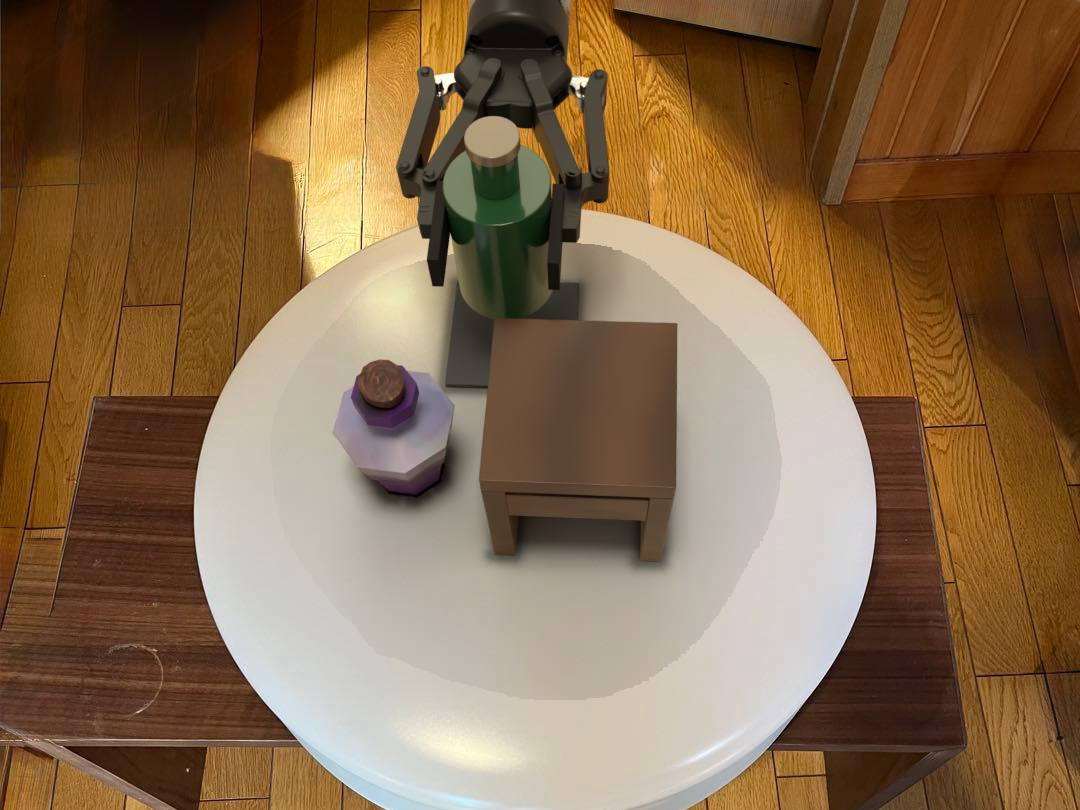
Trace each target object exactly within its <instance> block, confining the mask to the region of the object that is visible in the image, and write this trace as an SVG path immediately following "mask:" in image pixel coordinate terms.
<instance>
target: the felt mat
mask: <svg viewBox="0 0 1080 810" xmlns="http://www.w3.org/2000/svg"><path fill="white" fill-rule="evenodd" d="M579 290H580V283H579V282H560V290H553V291H552V293H551V295H550V297H549V299H548V300H547V301H546V303H545V304H544V305H543V306H542V307H541V308H540V309H538V310H537V311H535V312H534V313H532V314H530V315H528V316H525V317H523V318H519V319H548V320H578V307H579ZM453 303H454V304H453V313H452V321H451V329H450V339H449V346H448V355H447V363H446V372H445V380H444V381H445V382H444V385H445V387H447V388H473V389H474V388H476V389H477V388H478V389H488V379H489V369H490V359H491V348H492V338H493V328H494V319H491V318H488V317H485V316H483V315H481V314H479V313H477V312H476V311H474V310H473V309H472V308H471V307H470V306H469V305H468V304H467V303H466V301H465V300H464V298H463V296H462V294H461V290H460V285H459V279H457V280H456V287H455V294H454V302H453Z"/></svg>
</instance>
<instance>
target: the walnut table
mask: <svg viewBox="0 0 1080 810" xmlns="http://www.w3.org/2000/svg"><path fill="white" fill-rule="evenodd" d="M485 401H486V402H485V411H484V421H483V432H482V433H483V434H482V443H481V452H480V453H481V454H480V465H479V474H478V476H479V477H478V484H479V488H480V493H481V497H482V501H483V507H484V512H485V516H486V521H487V525H488V529H489V534H490V539H491V543H492V548H493V552H494V555H496V556H497V555H498V556H516V553H517V538H518V526H519V525H518V524H519V517H521V516H522V517H542V518H543V517H544V518H566V519H567V518H570V519H593V520H595V519H596V520H617V521H618V520H619V521H620V520H622V521H640V546H639V547H640V551H639V552H640V553H639V559H640V561H641V562H642V561H644V562H661V561H662V558H663V554H664V549H665V544H666V538H667V534H668V529H669V524H670V518H671V515H672V509H673V504H674V501H675V495H676V490H677V437H678V436H677V435H678V433H677V430H678V429H677V427H678V424H677V423H678V418H677V417H678V323H677V322H655V321H653V322H650V321H620V320H619V321H618V320H615V321H614V320H613V321H612V320H583V319H582V320H581V319H580V320H579V319H577V320H548V319H512V318H495V319H494V328H493V338H492V348H491V359H490V369H489V379H488V388H487V391H486V399H485Z"/></svg>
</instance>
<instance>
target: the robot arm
mask: <svg viewBox="0 0 1080 810" xmlns="http://www.w3.org/2000/svg"><path fill="white" fill-rule="evenodd" d="M1076 1H1077V2H1079V3H1080V0H1076ZM571 7H572V0H469V7H468V10H469V11H468V17H467V24H466V32H465V40H464V41H465V42H464V48H463V56H462V59H461V60H460V62H459V63H458V64H457V65H456V66H455V68H454V71H453V72H447V73H439V74H435V72H434V70H433V68H432V67H431V66H427V65H423V66H421V67H419V68H418V69H416V78H417V84H418V90H419V91H418V94H417V98H416V100H415V103H414V107H413V109H412V113H411V117H410V120H409V122H408V127H407V130H406V133H405V136H404V139H403V141H402V146H401V149H400V151H399V155H398V158H397V161H396V166H395V170H396V173H397V178H398V183H399V186H400V190H401V194H402V197H404V198H405V199H415V198H419V201H418V208H417V216H416V219H417V225H418V230H419V234H420V236H421V239H422V240H428V247H427V254H426V262H427V268H428V273H429V278H430V282H431V287H433V288H434V287H436V288H437V287H439V288H444V287H445V279H446V269H447V262H448V254H449V246H450V240H451V234H450V229H449V223H448V217H447V212H446V206H445V201H444V195H443V178H444V175H445V172H446V170H447V168H448V166H449V165H450V164H451V162H452V161H453V160H454V159H455V158H456V157H457V156H458V155H460V154H461V153H462V152H464V151H465V144H464V135H465V132H466V130H467V128H468V127H469V126H470V125H471V124H472V123H473V122H474V121H476V120H478V119H480V118H483V117H487V116H499V117H504V118H506V119H508V120H510V121H512V122H513V123H514V124H515V125H516V126H517V128H518V129H526V130H527V129H529V130H531V131H532V133H533V135H534V138H535V140H536V143H539V145H540V148H541V150H542V153H543V156H544V158H545V160H546V164H547V166H548V169H549V171H550V174H551V175H552V177H553V180H554V182H555V183H552V188H551V193H552V203H551V217H550V230H549V244H548V258H547V271H548V290H560V283H561V278H562V277H561V274H562V262H563V261H562V258H563V245H564V244H577V243H578V242H579V239H580V238H581V225H582V224H581V223H582V209H583V207H584V205H586V204H587V203H588V202H594V203H595V204H604V203H606V202H607V201H608V199H609V194H610V193H609V191H610V190H609V189H610V164H609V163H610V162H609V154H608V146H607V136H606V127H605V120H604V119H605V118H604V112H605V109H606V107H607V98H608V96H607V95H608V73H607V71H605V70H603V69H601V68H599V69H598V68H597V69H594V70H592V71H591V73H590V75H589V77H587V76H583V75H577V74H573V72H572V69H571V66H569V64H568V53H569V52H568V51H569V38H570V36H569V35H570V22H571ZM454 94H457V95H458V96H459V97H460V99H461V100H462V107H461V109H460V111H459V113H458V114H457V116H456V117H455V119H454V121H453V122H452V124H451V125H450V127H449V128H448V130H447V132H446V133H445V135H444V136H443V138H442V140H441V141H440V143H439V145H438V146H437V148H436V149H435V152H433V154H432V156H431V153H432V149H433V147H434V143H435V140H436V137H437V133H438V129H439V126H440V122H441V112H442V111H445V110H447V104H449V102H450V98H451V96H452V95H454ZM570 96H572V97H573V98H574V99H575V105H576V107H577V108H578V109H579V113H581V114H583V131H584V132H583V133H584V143H585V151H586V159H587V160H586V162H587V170H588V171H587V172H583V168H582V166H581V167H579V166H578V163H577V161H576V159H575V156H574V154H573V151H572V149H571V147H570V145H569V142H568V140H567V138H566V137H567V136H566V135H565V133H564V130H563V128H562V126H561V123H560V120H559V117H558V116H557V114H556V111H555V110H556V109H557V108H558V107H559V106H560V105H561V104H562V103H563V102H565V101H566V100H567V99H568V98H569V97H570Z"/></svg>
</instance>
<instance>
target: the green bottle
mask: <svg viewBox="0 0 1080 810" xmlns="http://www.w3.org/2000/svg"><path fill="white" fill-rule="evenodd" d="M464 144H465V151H464V152H462V153H461V154H460V155H458V156H457V157H456V158H455V159H454V160H453V161H452V162H451V164H450V165H449V166H448V168H447V170H446V172H445V175H444V178H443V195H444V201H445V206H446V212H447V217H448V223H449V229H450V240H451V246H452V251H453V256H454V263H455V267H456V274H457V280H459V285H460V290H461V294H462V296H463V298H464V300H465V301H466V303H467V304H468V305H469V306H470V307H471V308H472V309H473V310H474V311H476V312H477V313H479V314H481V315H483V316H485V317H488V318H491V319H495V318H512V319H519V318H523V317H525V316H528V315H530V314H532V313H534V312H535V311H537V310H538V309H540V308H541V307H542V306H543V305H544V304H545V303H546V301H547V300H548V299H549V297H550V295H551V293H552V291H553V290H548V271H547V258H548V244H549V230H550V217H551V203H552V176H551V171H550V168H549V166H548V164H547V162H545V160H544V159H543V158H542V157H541V156H540V155H539V154H538V153H537V152H535V151H534V150H532V149H531V148H529V147H527V146H525V145H522V144H521V134H520V130H519V128H517V126H516V125H515V124H514V123H513V122H512V121H510V120H508V119H506V118H504V117H499V116H487V117H483V118H480V119H478V120H476V121H474V122H473V123H472V124H471V125H470V126H469V127H468V128H467V130H466V132H465V135H464Z"/></svg>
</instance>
